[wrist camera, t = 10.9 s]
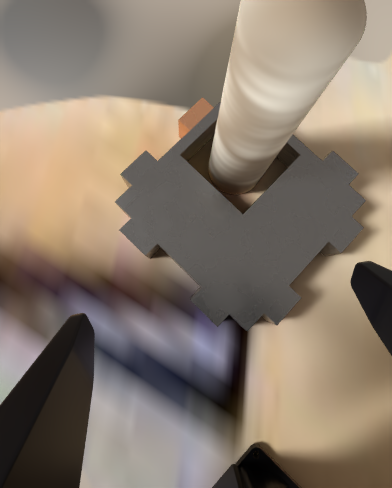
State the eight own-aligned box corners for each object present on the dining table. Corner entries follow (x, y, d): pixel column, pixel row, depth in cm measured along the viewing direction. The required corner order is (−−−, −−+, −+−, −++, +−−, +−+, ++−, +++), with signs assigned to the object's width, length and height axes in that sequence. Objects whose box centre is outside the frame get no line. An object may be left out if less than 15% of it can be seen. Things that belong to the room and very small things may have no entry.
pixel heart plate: (367, 208, 24) (388, 200, 21) (241, 348, 22) (248, 357, 19) (232, 86, 25) (237, 64, 22) (101, 210, 23) (90, 201, 20)
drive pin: (271, 164, 24) (389, 0, 10) (241, 204, 23) (322, 91, 9) (228, 134, 24) (286, -67, 10) (197, 173, 24) (215, 18, 10)
